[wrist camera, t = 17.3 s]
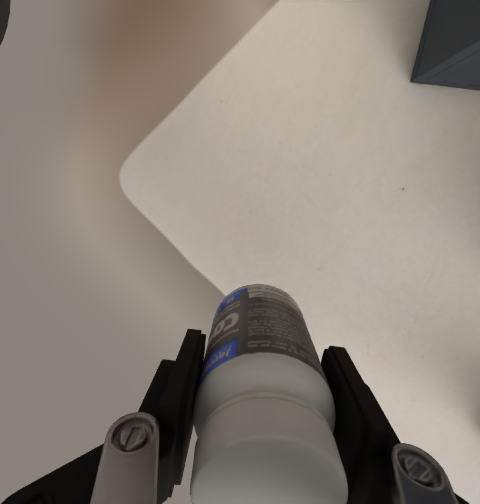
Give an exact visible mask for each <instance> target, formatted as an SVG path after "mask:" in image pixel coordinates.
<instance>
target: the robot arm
mask: <svg viewBox="0 0 480 504" xmlns="http://www.w3.org/2000/svg"><path fill="white" fill-rule="evenodd" d="M205 340H206V335H205V334H201V330H195V329H188V330H187V333H186V335H185V338H184V341H183V343H182V346H181V348H180V351H179V354H178V356H177V359H176V361H172V360H164V359H163V360H162V361H161V363H160V365H159V367H158V369H157V372H156V374H155V376H154V378H153V380H152V382H151V385H150V387H149V389H148V391H147V393H146V395H145V398H144V400H143V402H142V404H141V406H140V409H139V411H138V412H135V413H130V414H127V415H125V416H123V417H121V418H119V419H118V420H117V421H116V422H114V423H113V425H112V426H111V427H110V428H109V430H108V432H107V435H106V438H105V442H104V444H102V445H100V446H99V447H96V448H95V449H93V450H91V451H89V452H87V453H86V454H84V455H82V456H80V457H78V458H76V459H75V460H73V461H71V462H69V463H67V464H65V465H64V466H62V467H60V468H58V469H56V470H54V471H53V472H51V473H49V474H47V475H45V476H44V477H42V478H40V479H38V480H36V481H34V482H33V483H31V484H29V485H27V486H25V487H23V488H22V489H20V490H18V491H17V492H15V493H14V494H12V495H11V496H9V497H8V498H7V499H6V500H5V501H3V502H2V503H1V504H162V503H163V502H164V501H166V500H167V498H168V497H171V496H172V492H173V488H174V485H180V484H181V481H182V476H183V471H184V467H185V461H186V457H187V453H188V448H189V443H190V439H191V434H192V429H193V425H194V421H193V407H194V399H195V395H196V391H197V386H198V383H199V378H200V373H201V370H202V365H203V361H204V351H205ZM321 366H322V369H323V371H324V374H325V377H326V379H327V382H328V384H329V387H330V390H331V392H332V396H333V400H334V405H335V413H336V419H335V427H334V431H333V437H334V439H335V442H336V445H337V449H338V452H339V455H340V459H341V462H342V465H343V468H344V471H345V475H346V479H347V485H348V499H347V503H346V504H469V503H468V502H466V501H465V500H464V499H462V498H461V497H459V496H458V495H457V494H455V493H454V491H453V489H452V487H451V484H450V482H449V479H448V477H447V475H446V473H445V471H444V470H443V468H442V467H441V466H440V464H439V463H438V462H437V461H436V460H435V459H434V458H433V457H432V456H430V455H429V454H428V453H426V452H425V451H423V450H422V449H420V448H418V447H416V446H413V445H411V444H406V443H401V442H400V441H399V439H398V437H397V435H396V434H395V432H394V430H393V428H392V427H391V425H390V423H389V421H388V419H387V418H386V416H385V414H384V412H383V411H382V409H381V407H380V405H379V404H378V402H377V400H376V398H375V397H374V395H373V393H372V391H371V390H370V388H369V387H368V385H367V384H365V383H364V381H363V380H362V378H361V376H360V374H359V372H358V371H357V369H356V367H355V365H354V363H353V362H352V360H351V358H350V356H349V354H348V353H347V351H346V349H345V348H344V347H336V346H329V348H328V349H325V350H324V352H323V356H322V361H321Z"/></svg>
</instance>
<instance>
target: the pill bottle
mask: <svg viewBox="0 0 480 504" xmlns="http://www.w3.org/2000/svg"><path fill="white" fill-rule="evenodd" d="M335 419H336V413H335V405H334V400H333V396H332V392H331V390H330V387H329V384H328V382H327V379H326V377H325V374H324V371H323V369H322V366H321V364H320V361H319V358H318V355H317V352H316V350H315V347H314V345H313V342H312V340H311V337H310V334H309V332H308V329H307V326H306V324H305V320H304V318H303V315H302V313H301V311H300V309H299V307H298V305H297V304H296V302H295V301H294V300H293V299H292V297H291V296H290V295H288V294H287V293H286V292H284V291H282V290H281V289H278V288H276V287H273V286H270V285H264V284H253V285H247V286H243V287H240V288H238V289H236V290H234V291H233V292H231V293H230V294H228V295H227V296H226V297H225V298H224V299H223V301H222V302H221V303H220V305H219V307H218V309H217V311H216V314H215V317H214V320H213V324H212V329H211V332H210V336H209V340H208V345H207V349H206V354H205V358H204V362H203V365H202V370H201V373H200V378H199V383H198V386H197V391H196V395H195V399H194V407H193V421H194V427H195V430H196V434H197V437H198V439H197V442H196V445H195V454H194V462H193V470H192V477H191V485H190V495H191V501H192V504H346V503H347V499H348V485H347V479H346V475H345V471H344V468H343V465H342V462H341V459H340V455H339V452H338V449H337V445H336V442H335V439H334V437H333V431H334V427H335Z"/></svg>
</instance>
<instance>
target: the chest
mask: <svg viewBox="0 0 480 504" xmlns="http://www.w3.org/2000/svg"><path fill="white" fill-rule="evenodd" d="M411 82H414V83H423V84H431V85H439V86H448V87H456V88H464V89H473V90H480V0H431V1H430V5H429V9H428V13H427V17H426V21H425V25H424V29H423V33H422V37H421V41H420V45H419V49H418V53H417V57H416V61H415V65H414V69H413V73H412V77H411Z"/></svg>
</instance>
